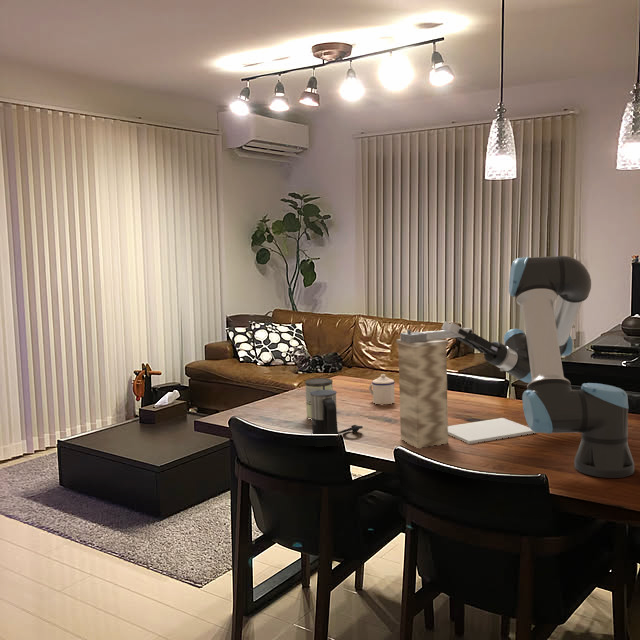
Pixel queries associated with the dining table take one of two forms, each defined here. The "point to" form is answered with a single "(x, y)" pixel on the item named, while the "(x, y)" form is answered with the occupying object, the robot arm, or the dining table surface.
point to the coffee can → (314, 386)
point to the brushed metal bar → (427, 335)
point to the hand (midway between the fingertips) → (446, 325)
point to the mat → (488, 430)
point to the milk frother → (326, 413)
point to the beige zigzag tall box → (423, 392)
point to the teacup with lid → (382, 390)
